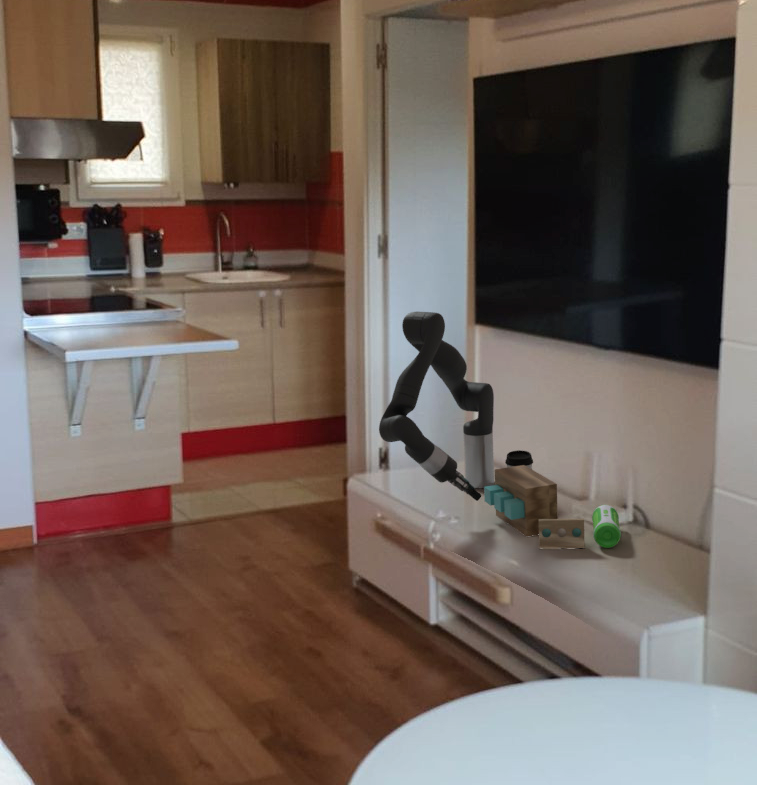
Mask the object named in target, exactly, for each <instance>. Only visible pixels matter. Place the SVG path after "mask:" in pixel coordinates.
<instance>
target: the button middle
mask: <svg viewBox="0 0 757 785" xmlns="http://www.w3.org/2000/svg"><path fill="white" fill-rule="evenodd" d="M508 499H514V495H513V494H512V493H510V492H509V491H506V492H499V493H494V505H493V506H494V509H495V511H496V510H498V511H499V512H505V511H504V500H508Z"/></svg>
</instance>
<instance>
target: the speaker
mask: <svg viewBox="0 0 757 785" xmlns="http://www.w3.org/2000/svg"><path fill="white" fill-rule="evenodd" d="M591 516H592V517H591V520H592V525H593V526H592V527H593V532H592V534H593V538H594V541H595V542H596V543H597V544H598V545H599V547H601V548H604V549H610V548H614V547H615V546H616V545H617V544H618V543H619V541H620V540H621V537H622V531H621V528H620V527H621V526H620V523H619V522H620V520H619V518H620V517H619V516H620V515H619V513H618V511H617V510H616V509H615V508H614V507H613V506H611V505H610V504H601V505H599V506H597V507H596V508H595V509H594V511H593V513H592V515H591Z"/></svg>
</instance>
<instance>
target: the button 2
mask: <svg viewBox="0 0 757 785" xmlns="http://www.w3.org/2000/svg"><path fill="white" fill-rule="evenodd" d="M504 511H505V516H507V517H508V518H509V519H511V520H513V519H519V518H525V505H524V501H523V500H521V499H519V498H515V499H508V500H504Z"/></svg>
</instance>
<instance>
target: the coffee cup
mask: <svg viewBox="0 0 757 785" xmlns="http://www.w3.org/2000/svg"><path fill="white" fill-rule="evenodd" d="M533 463H534V459H533V457H532V453H531V452H530V451H527V450H519V449H518V450H512V451H509V452H508V453H507V454H506V458H505V465H506V468H508V467H514V466H521V465H525V466H527V467H528V468H530V469H532V470H533Z"/></svg>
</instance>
